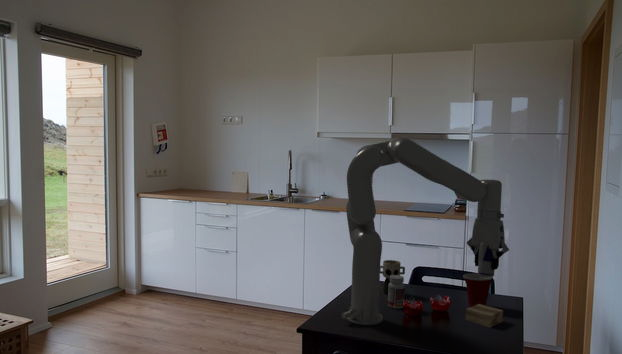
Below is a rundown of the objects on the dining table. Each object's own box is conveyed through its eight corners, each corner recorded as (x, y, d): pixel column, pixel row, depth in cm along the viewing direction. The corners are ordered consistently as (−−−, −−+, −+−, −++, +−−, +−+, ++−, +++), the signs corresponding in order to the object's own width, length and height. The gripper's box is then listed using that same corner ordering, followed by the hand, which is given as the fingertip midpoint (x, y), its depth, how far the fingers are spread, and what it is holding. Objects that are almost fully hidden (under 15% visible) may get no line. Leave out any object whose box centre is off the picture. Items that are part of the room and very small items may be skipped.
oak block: (489, 327, 159) (490, 315, 159) (465, 320, 166) (465, 308, 166) (502, 321, 165) (503, 310, 165) (478, 314, 172) (479, 303, 172)
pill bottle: (405, 305, 181) (406, 275, 180) (402, 310, 175) (403, 279, 175) (389, 302, 183) (390, 273, 183) (385, 307, 178) (386, 277, 177)
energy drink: (495, 277, 162) (497, 242, 161) (478, 276, 163) (480, 241, 162) (492, 274, 167) (494, 240, 166) (476, 272, 168) (478, 239, 167)
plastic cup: (471, 300, 190) (472, 270, 189) (496, 307, 181) (498, 276, 181) (456, 305, 182) (457, 274, 182) (482, 312, 174) (483, 280, 174)
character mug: (378, 295, 193) (379, 263, 192) (376, 289, 200) (377, 259, 199) (405, 296, 192) (406, 264, 192) (403, 291, 199) (404, 260, 199)
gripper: (518, 217, 160) (515, 271, 161) (471, 212, 173) (469, 261, 174) (507, 219, 155) (505, 274, 156) (460, 213, 168) (458, 264, 169)
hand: (486, 266), depth 165 cm, fingers closed on energy drink, 5 cm apart
